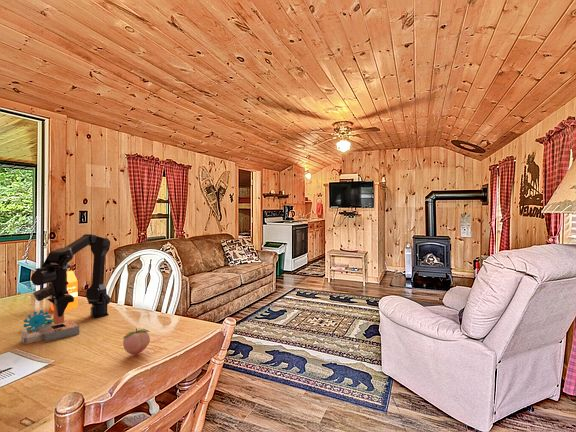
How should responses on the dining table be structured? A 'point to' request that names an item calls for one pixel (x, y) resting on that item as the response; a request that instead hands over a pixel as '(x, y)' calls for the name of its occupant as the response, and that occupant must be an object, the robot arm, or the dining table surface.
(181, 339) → the dining table surface
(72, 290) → the orange juice
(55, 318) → the terracotta rectangular prism
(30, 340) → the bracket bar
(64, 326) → the grey square hole block
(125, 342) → the decorative fruit
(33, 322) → the gear
